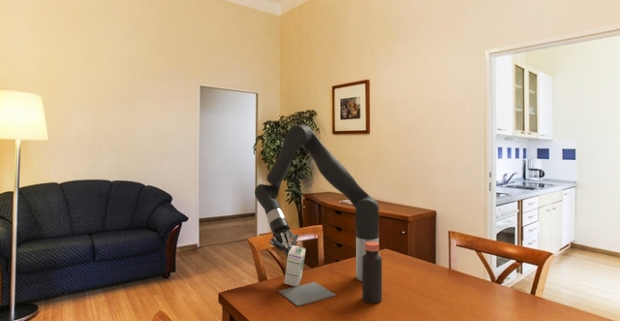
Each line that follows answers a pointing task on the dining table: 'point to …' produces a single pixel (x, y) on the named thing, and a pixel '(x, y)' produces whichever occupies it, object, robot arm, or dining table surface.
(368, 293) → the bottle
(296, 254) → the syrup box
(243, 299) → the dining table surface
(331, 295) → the slate mat
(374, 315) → the dining table surface
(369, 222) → the robot arm
